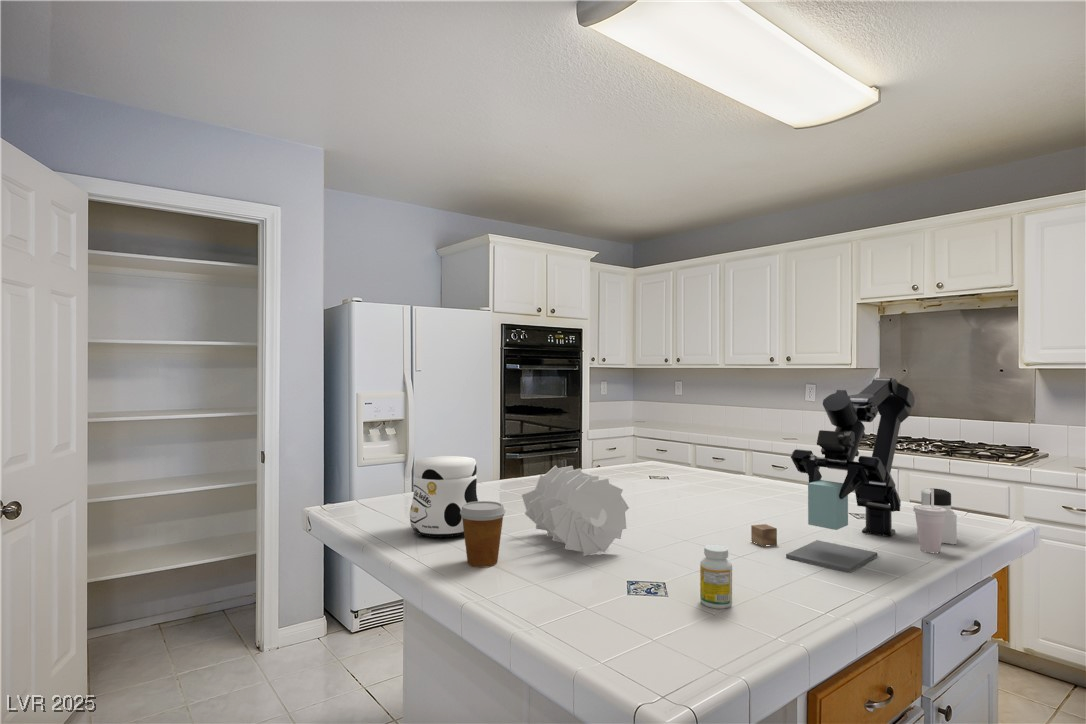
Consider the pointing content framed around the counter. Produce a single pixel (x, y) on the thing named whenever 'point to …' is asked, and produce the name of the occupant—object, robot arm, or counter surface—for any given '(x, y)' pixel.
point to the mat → (832, 555)
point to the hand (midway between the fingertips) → (825, 495)
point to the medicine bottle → (950, 521)
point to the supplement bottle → (716, 577)
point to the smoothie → (930, 525)
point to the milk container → (442, 494)
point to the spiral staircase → (577, 509)
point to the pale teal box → (827, 505)
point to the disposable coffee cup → (482, 531)
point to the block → (764, 534)
